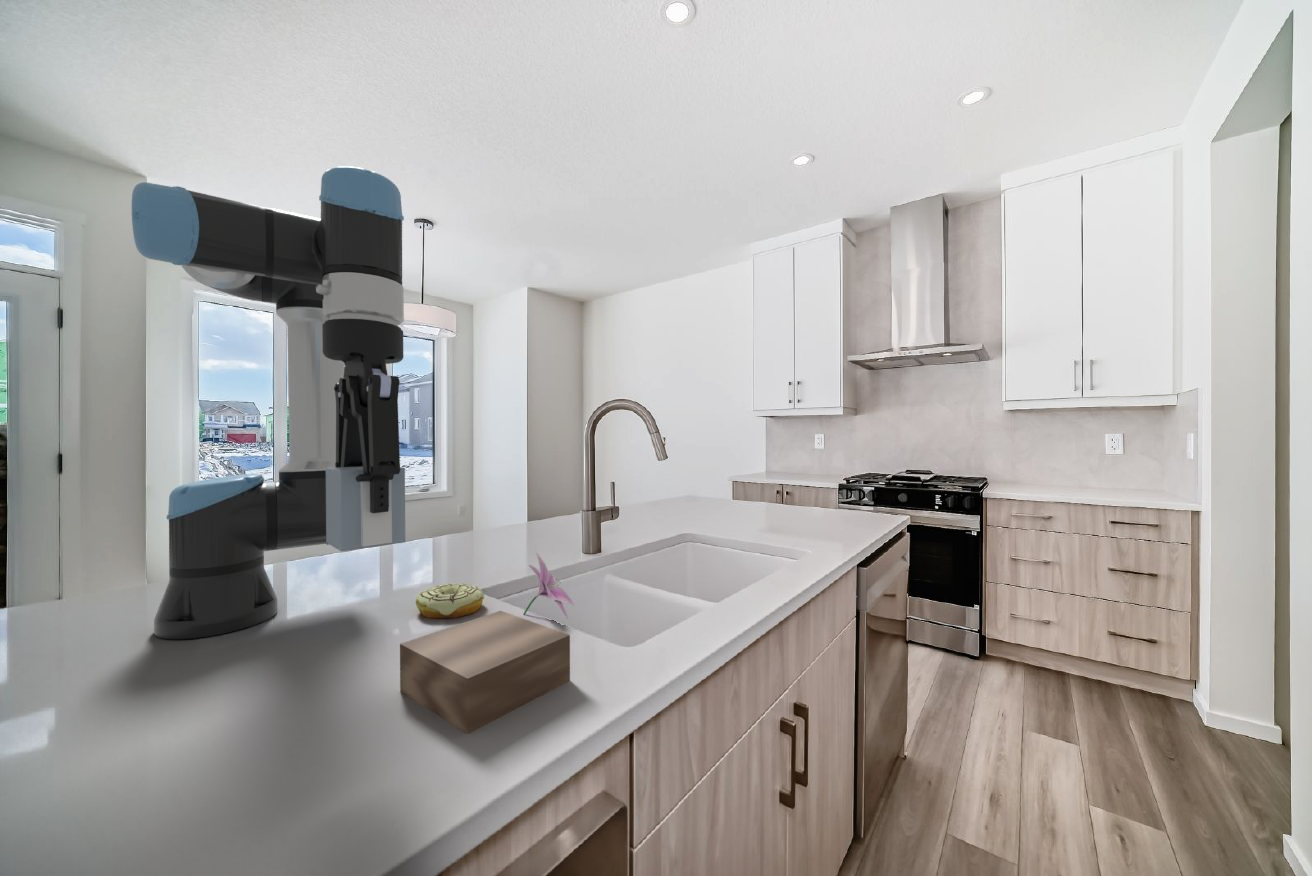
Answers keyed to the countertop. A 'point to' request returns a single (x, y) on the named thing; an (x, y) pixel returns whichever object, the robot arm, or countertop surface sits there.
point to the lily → (549, 587)
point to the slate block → (357, 508)
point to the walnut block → (483, 668)
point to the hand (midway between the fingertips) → (366, 538)
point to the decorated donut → (449, 600)
